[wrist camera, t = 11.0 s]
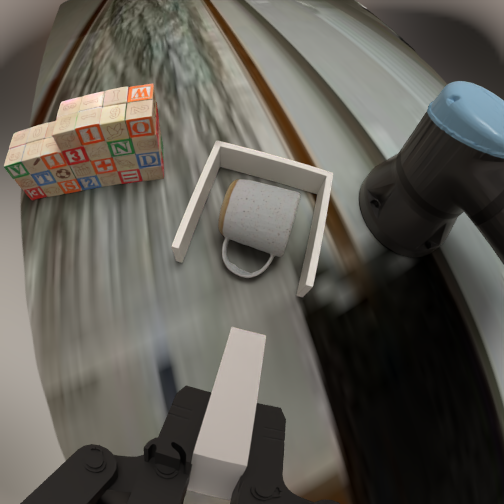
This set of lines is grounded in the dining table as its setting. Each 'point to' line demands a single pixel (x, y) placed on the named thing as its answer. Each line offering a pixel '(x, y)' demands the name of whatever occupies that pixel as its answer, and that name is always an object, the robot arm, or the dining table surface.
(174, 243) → the white u-shaped bracket
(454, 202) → the robot arm
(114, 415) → the dining table surface
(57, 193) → the stack of blocks
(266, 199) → the ceramic mug
